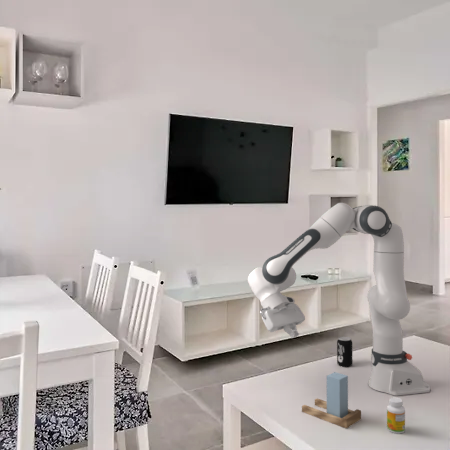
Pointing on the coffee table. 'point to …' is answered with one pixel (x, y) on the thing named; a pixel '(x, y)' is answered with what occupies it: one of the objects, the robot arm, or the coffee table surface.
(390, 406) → the supplement bottle
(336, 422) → the brown flat open frame
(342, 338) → the beverage can
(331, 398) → the block
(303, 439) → the coffee table surface
